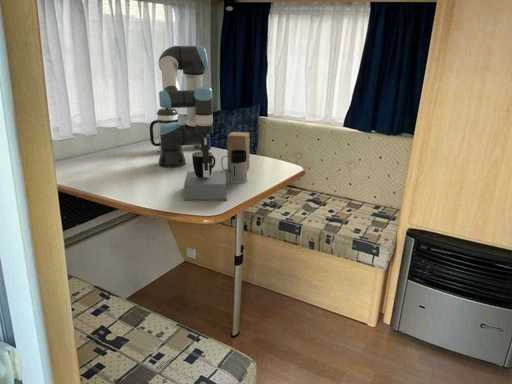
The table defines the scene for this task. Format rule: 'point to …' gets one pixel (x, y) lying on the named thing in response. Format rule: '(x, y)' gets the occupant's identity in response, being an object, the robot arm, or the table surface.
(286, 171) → the table surface
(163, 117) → the coffee press
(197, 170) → the mug
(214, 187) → the large grey square box
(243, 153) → the glass holder
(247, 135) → the wooden block
